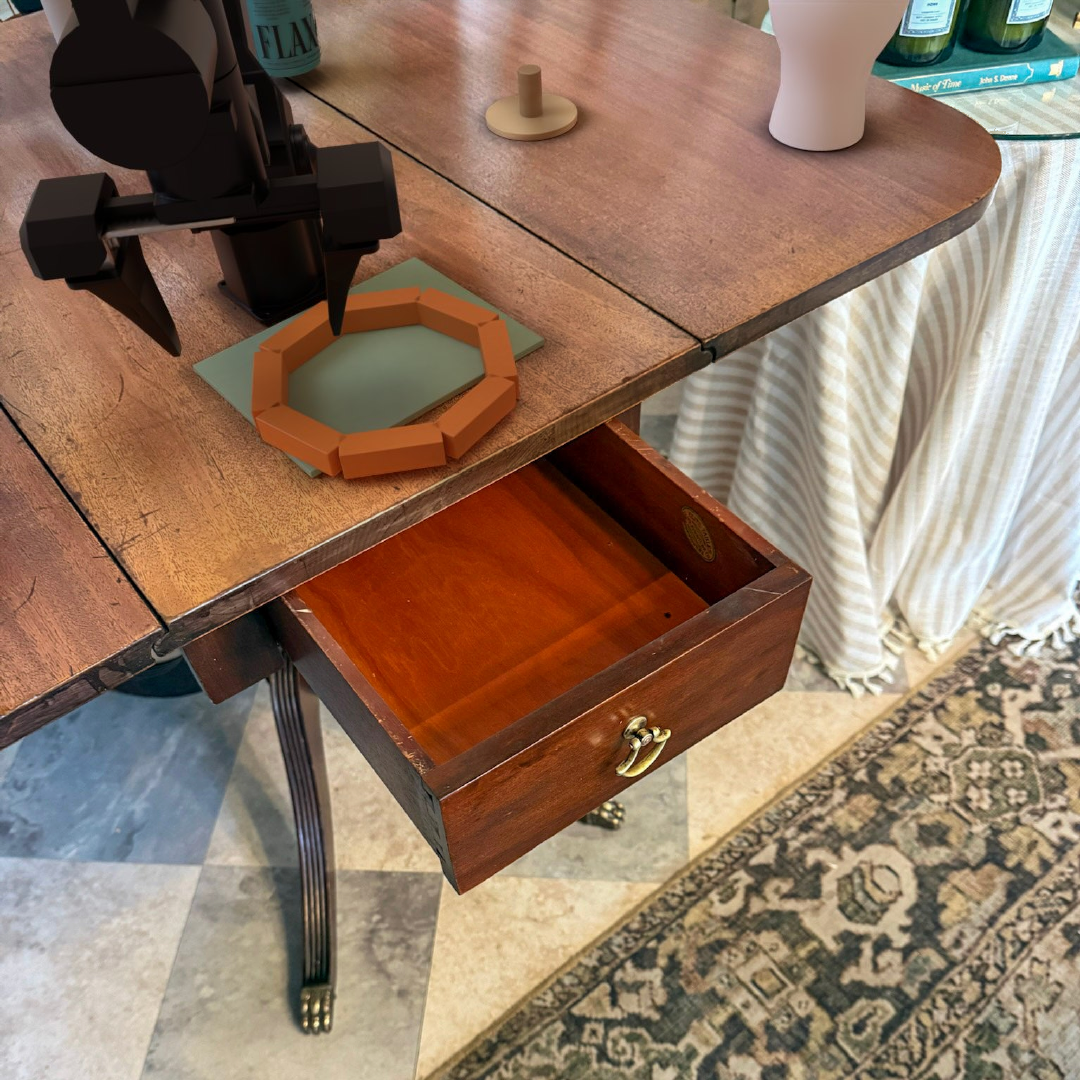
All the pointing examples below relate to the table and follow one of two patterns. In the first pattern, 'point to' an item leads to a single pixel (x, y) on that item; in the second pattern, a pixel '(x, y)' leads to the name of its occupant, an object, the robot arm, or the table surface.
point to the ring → (392, 444)
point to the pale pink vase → (827, 67)
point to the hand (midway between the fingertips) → (258, 342)
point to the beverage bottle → (284, 36)
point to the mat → (370, 365)
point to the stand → (531, 111)
